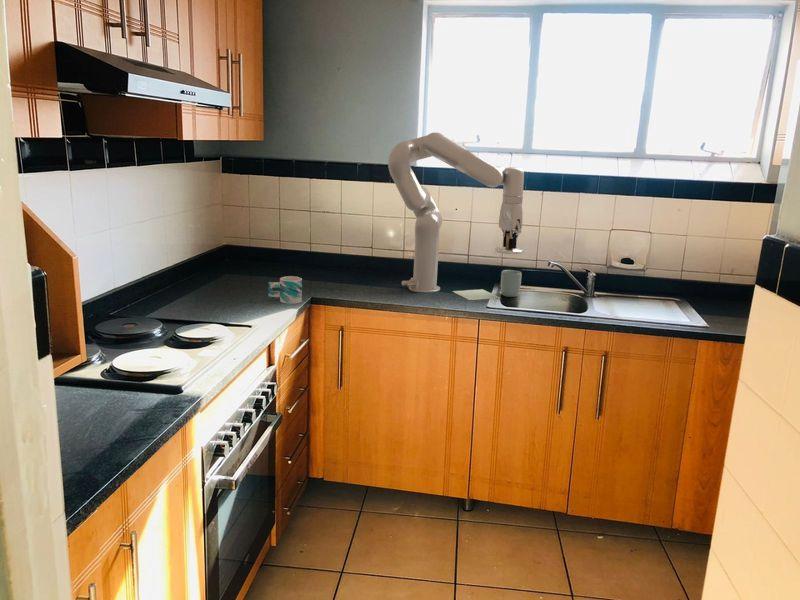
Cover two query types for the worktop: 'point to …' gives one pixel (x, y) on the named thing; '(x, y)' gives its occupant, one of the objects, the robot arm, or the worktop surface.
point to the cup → (510, 283)
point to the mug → (287, 289)
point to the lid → (506, 249)
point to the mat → (476, 294)
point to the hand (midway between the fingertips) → (509, 247)
